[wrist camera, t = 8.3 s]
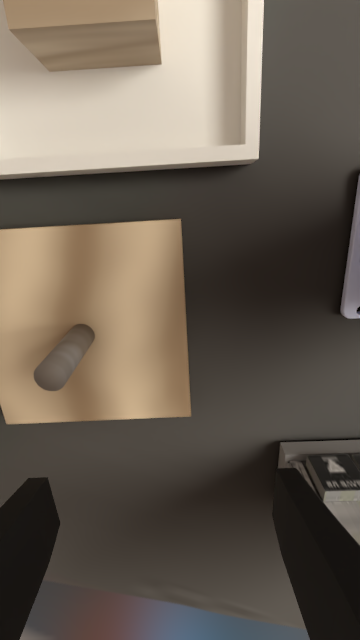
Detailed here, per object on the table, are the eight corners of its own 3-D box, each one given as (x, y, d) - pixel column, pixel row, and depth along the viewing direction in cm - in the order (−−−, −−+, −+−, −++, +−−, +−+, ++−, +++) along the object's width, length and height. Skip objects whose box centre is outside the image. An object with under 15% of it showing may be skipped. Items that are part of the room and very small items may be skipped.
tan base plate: (180, 218, 16) (181, 224, 11) (190, 406, 20) (194, 476, 15) (-41, 231, 16) (-146, 243, 11) (14, 414, 20) (-43, 485, 15)
